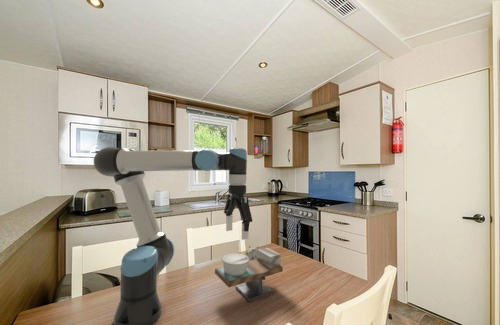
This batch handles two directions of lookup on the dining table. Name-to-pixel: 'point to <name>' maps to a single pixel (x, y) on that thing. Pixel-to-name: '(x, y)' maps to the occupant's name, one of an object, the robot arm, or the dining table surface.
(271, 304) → the dining table surface
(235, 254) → the ramekin
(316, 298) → the dining table surface
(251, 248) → the grey lumpy piece
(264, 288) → the fulcrum
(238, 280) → the beam
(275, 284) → the dining table surface
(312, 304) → the dining table surface
